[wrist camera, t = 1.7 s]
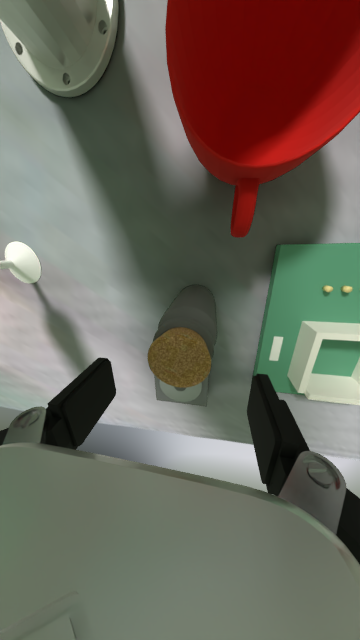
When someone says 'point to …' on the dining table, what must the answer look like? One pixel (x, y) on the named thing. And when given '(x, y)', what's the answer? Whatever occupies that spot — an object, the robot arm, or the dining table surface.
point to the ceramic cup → (262, 85)
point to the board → (313, 322)
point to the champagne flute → (22, 262)
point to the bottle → (185, 339)
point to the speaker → (182, 393)
